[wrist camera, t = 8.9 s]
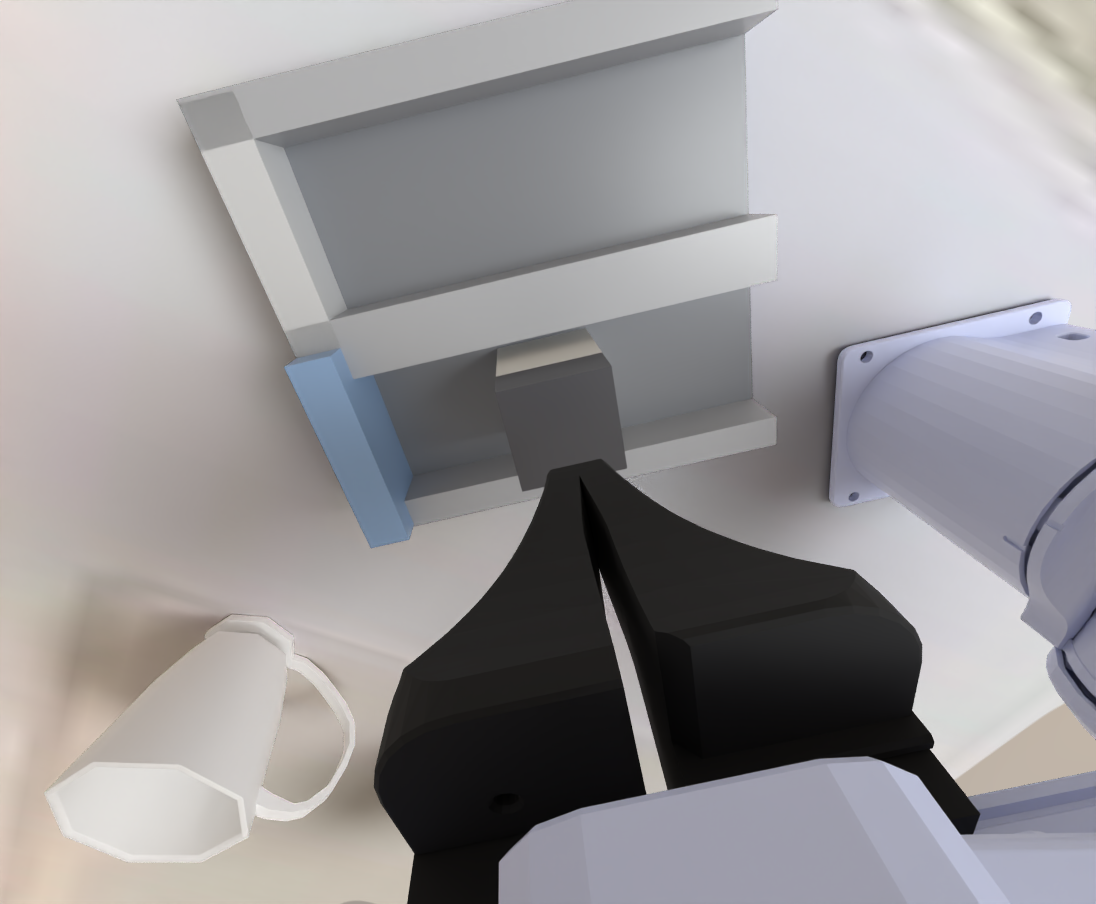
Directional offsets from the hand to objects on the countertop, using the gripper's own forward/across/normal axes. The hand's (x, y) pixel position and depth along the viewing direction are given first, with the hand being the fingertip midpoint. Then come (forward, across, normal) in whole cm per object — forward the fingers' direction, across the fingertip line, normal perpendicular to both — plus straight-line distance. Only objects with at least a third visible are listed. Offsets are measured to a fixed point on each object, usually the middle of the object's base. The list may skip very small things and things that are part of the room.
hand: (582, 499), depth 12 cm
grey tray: (+9, 0, -4) cm, 10 cm away
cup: (+10, +17, +12) cm, 23 cm away
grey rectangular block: (+8, 0, 0) cm, 8 cm away
